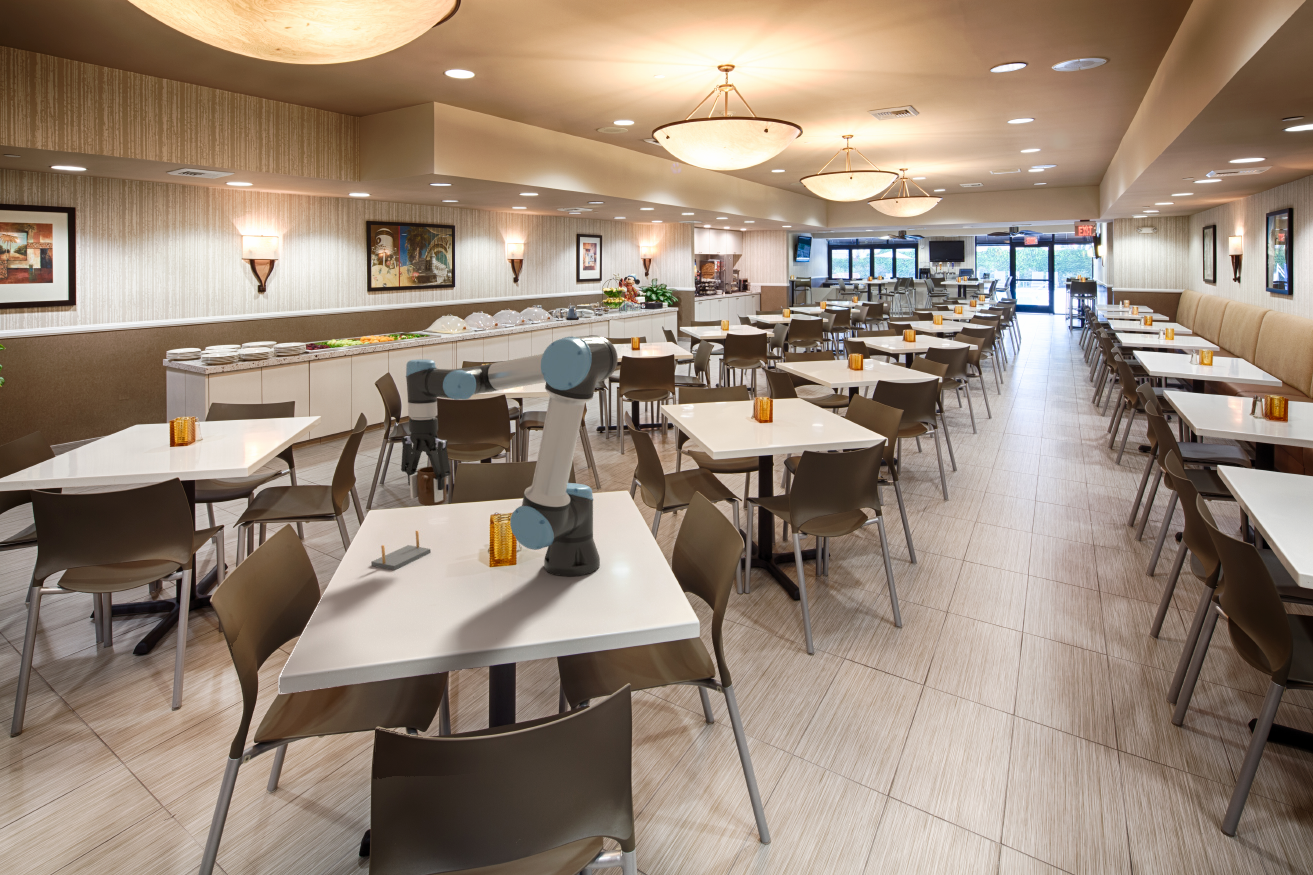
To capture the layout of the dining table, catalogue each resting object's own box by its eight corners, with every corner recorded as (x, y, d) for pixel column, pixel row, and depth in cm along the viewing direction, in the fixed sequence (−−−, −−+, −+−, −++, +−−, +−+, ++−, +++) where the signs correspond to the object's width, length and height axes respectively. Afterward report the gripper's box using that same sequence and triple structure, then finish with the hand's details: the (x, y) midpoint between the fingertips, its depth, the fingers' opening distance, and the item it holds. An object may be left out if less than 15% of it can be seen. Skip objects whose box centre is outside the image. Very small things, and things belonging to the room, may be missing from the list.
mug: (436, 511, 195) (434, 477, 193) (407, 510, 196) (406, 476, 194) (450, 498, 207) (449, 466, 205) (423, 497, 207) (422, 465, 205)
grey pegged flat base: (430, 552, 210) (429, 532, 209) (394, 570, 197) (393, 548, 195) (408, 549, 213) (407, 528, 212) (371, 565, 200) (370, 544, 198)
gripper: (462, 418, 196) (465, 500, 201) (403, 412, 204) (407, 491, 208) (444, 422, 189) (448, 507, 194) (383, 416, 197) (388, 497, 202)
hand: (426, 498), depth 201 cm, fingers closed on mug, 7 cm apart
